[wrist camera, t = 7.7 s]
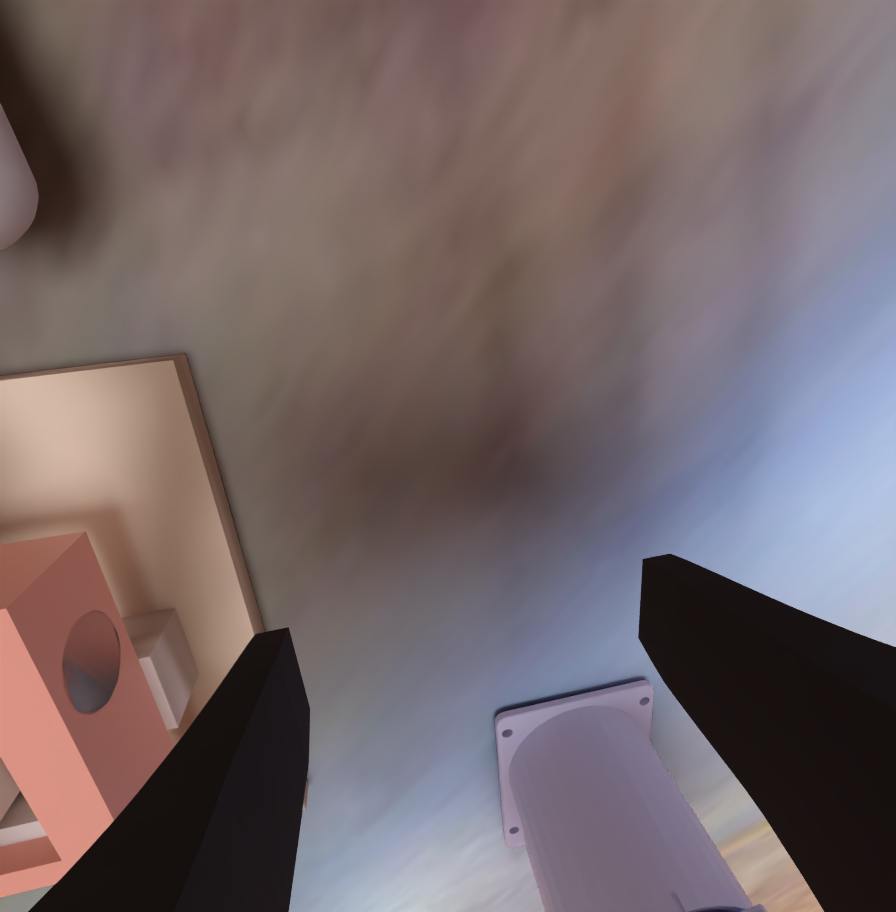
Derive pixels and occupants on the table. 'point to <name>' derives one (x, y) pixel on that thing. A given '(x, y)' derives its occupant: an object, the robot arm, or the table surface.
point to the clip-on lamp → (14, 187)
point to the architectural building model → (131, 523)
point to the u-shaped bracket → (68, 705)
